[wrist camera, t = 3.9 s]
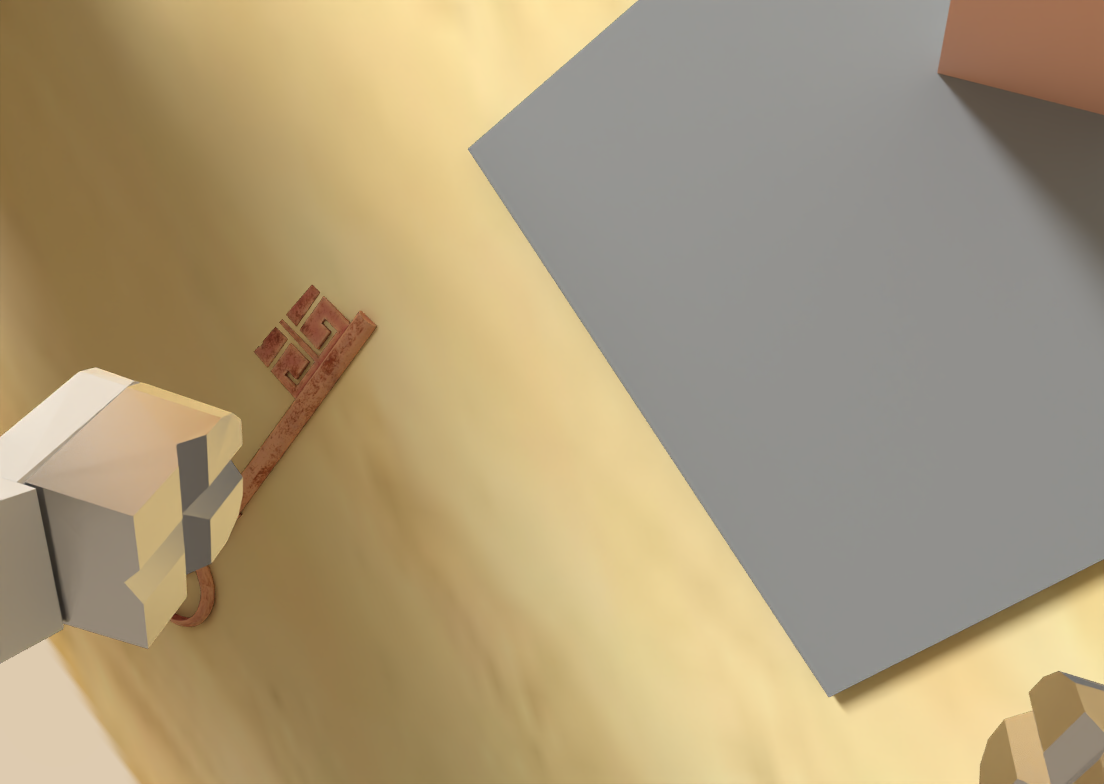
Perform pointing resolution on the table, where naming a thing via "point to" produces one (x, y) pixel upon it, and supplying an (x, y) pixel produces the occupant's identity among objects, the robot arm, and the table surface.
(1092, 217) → the mat
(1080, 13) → the block
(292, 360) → the key
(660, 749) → the table surface
